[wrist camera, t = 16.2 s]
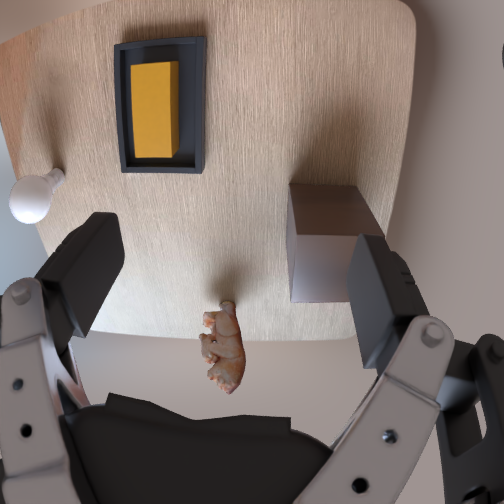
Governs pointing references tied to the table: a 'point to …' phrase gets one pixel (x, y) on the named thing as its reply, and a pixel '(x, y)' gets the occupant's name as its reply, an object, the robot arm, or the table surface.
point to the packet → (155, 108)
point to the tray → (190, 102)
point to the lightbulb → (34, 195)
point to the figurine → (224, 347)
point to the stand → (324, 239)
